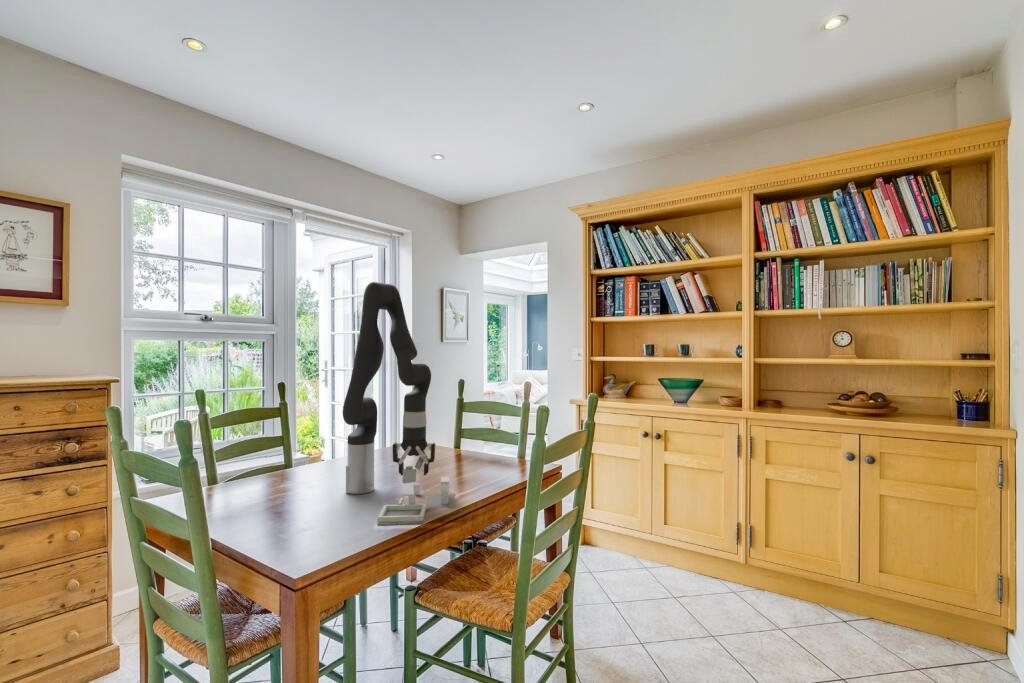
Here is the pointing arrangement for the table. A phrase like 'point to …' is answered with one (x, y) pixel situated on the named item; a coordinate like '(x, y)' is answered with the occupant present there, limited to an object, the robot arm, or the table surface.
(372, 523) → the table surface
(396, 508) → the tray
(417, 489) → the fuse panel
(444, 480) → the block
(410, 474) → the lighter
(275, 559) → the table surface
